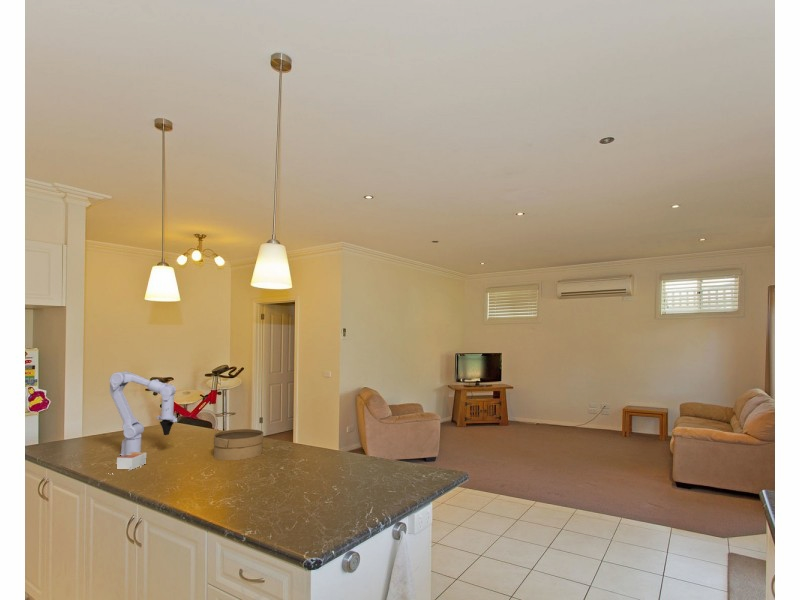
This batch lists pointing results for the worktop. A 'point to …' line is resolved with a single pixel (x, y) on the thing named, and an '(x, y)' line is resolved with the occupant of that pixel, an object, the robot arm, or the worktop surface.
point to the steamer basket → (238, 444)
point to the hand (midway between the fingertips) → (166, 434)
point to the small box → (131, 460)
